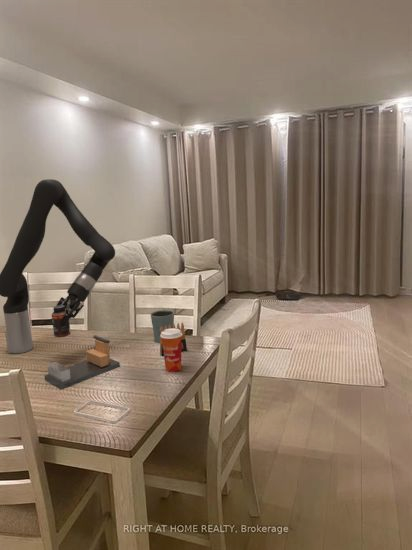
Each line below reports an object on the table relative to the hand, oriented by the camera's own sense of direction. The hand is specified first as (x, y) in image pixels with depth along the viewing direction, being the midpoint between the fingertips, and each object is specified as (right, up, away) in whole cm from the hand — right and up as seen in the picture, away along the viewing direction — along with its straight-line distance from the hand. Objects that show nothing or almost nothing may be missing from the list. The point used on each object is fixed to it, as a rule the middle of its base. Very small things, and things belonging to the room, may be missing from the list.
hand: (56, 324), depth 149 cm
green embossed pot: (+38, -10, +25) cm, 46 cm away
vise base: (+12, -17, -6) cm, 21 cm away
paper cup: (+44, -15, -6) cm, 47 cm away
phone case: (+26, -22, -34) cm, 48 cm away
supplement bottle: (+1, -5, +2) cm, 5 cm away
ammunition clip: (+43, -13, +9) cm, 46 cm away
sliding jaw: (+16, -14, -1) cm, 22 cm away
